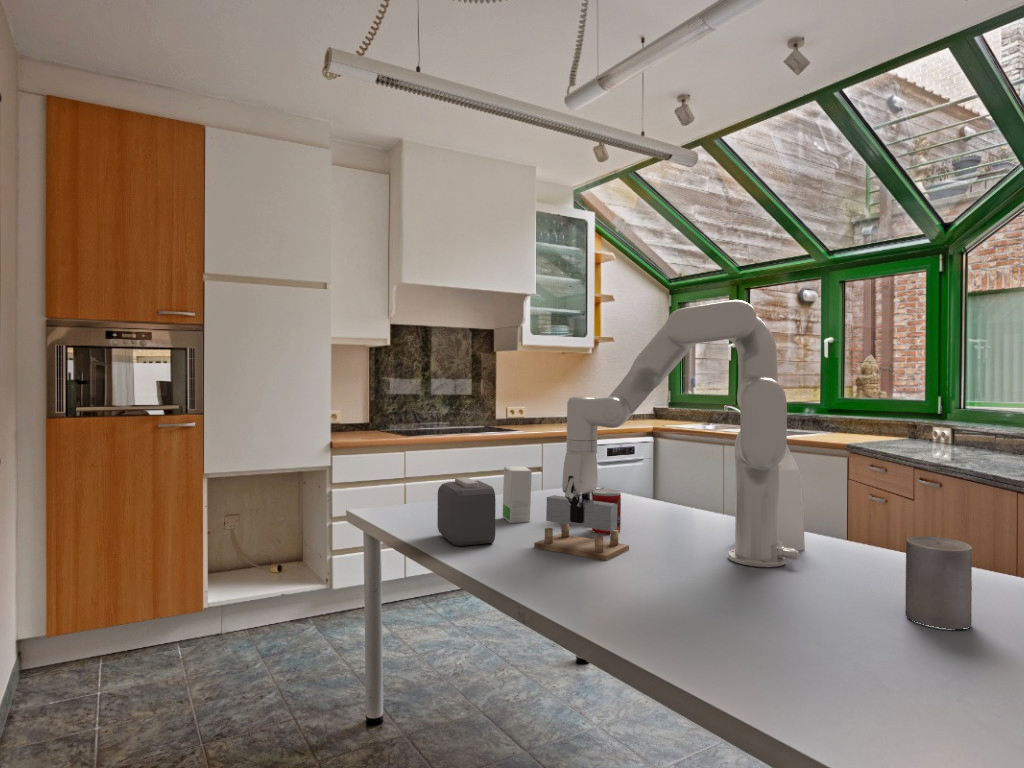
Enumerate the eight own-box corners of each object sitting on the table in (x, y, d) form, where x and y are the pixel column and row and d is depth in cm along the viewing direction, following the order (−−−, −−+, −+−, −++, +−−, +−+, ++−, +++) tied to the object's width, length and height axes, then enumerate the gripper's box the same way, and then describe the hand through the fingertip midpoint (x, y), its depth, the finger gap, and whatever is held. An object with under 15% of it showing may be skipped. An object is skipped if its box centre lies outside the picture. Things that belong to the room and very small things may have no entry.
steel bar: (546, 520, 165) (546, 497, 165) (553, 518, 167) (553, 495, 167) (610, 531, 154) (610, 506, 154) (617, 528, 157) (617, 503, 157)
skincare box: (502, 517, 197) (502, 466, 197) (522, 516, 199) (523, 465, 199) (510, 523, 189) (510, 470, 189) (531, 522, 191) (532, 469, 191)
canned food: (622, 534, 176) (622, 493, 176) (592, 534, 177) (593, 493, 177) (618, 528, 184) (618, 489, 184) (590, 527, 184) (590, 488, 184)
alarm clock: (495, 545, 164) (495, 483, 164) (451, 549, 160) (452, 486, 160) (474, 531, 179) (475, 474, 179) (434, 534, 175) (434, 476, 175)
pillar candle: (910, 607, 120) (909, 526, 120) (974, 619, 114) (974, 533, 114) (900, 622, 113) (900, 536, 112) (969, 636, 106) (969, 545, 106)
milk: (789, 539, 172) (790, 440, 172) (804, 550, 161) (805, 444, 161) (743, 537, 173) (743, 440, 173) (754, 548, 162) (755, 444, 162)
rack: (629, 549, 160) (629, 530, 160) (606, 560, 150) (606, 540, 150) (559, 538, 172) (559, 520, 172) (534, 547, 162) (534, 528, 162)
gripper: (584, 443, 170) (583, 513, 170) (551, 448, 156) (549, 524, 156) (610, 445, 165) (609, 517, 165) (578, 450, 152) (577, 529, 152)
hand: (580, 520), depth 161 cm, fingers closed on steel bar, 3 cm apart
